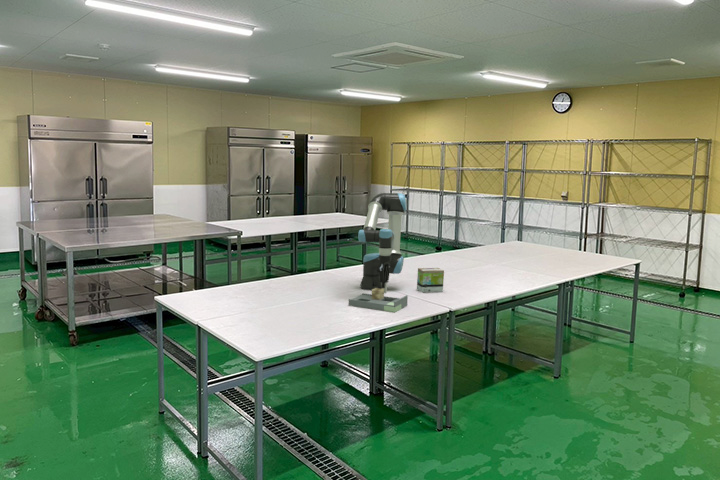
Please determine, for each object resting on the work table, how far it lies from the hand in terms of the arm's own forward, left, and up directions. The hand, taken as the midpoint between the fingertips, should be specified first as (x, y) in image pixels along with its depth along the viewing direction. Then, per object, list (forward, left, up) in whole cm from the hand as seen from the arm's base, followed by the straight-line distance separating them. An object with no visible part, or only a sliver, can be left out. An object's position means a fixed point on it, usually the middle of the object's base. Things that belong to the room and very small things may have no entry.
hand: (384, 292), depth 341 cm
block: (-1, -7, -2) cm, 7 cm away
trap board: (+1, -11, -5) cm, 13 cm away
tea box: (+14, +42, -5) cm, 44 cm away
